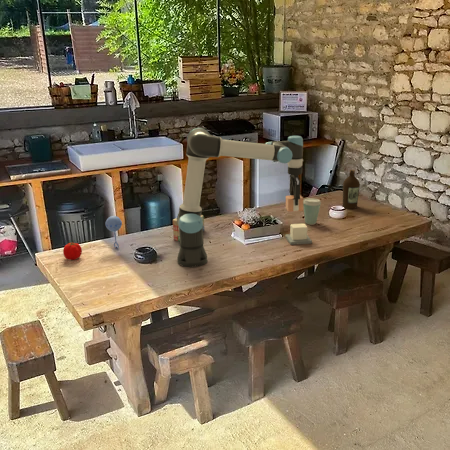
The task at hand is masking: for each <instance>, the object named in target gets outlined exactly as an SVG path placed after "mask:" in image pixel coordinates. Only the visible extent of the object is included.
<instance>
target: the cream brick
mask: <svg viewBox="0 0 450 450" xmlns="http://www.w3.org/2000/svg"><path fill="white" fill-rule="evenodd" d="M289 228H290V229H289V230H290V231H289V234H290V237H291V238H292V240H300V239H307V235H308V226H307V224H306V223H292V224H290V227H289Z"/></svg>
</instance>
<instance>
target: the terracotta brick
mask: <svg viewBox="0 0 450 450" xmlns="http://www.w3.org/2000/svg"><path fill="white" fill-rule="evenodd" d="M293 198H294V195H291V196H290V195H285V210H286V211H287V212H290V213H291V212H294V211H293ZM303 201H304V196H302V194H300V199H299V211H298V212H304V204H303Z"/></svg>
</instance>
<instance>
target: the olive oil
mask: <svg viewBox="0 0 450 450" xmlns="http://www.w3.org/2000/svg"><path fill="white" fill-rule="evenodd" d="M355 172H356V171H355V169H349V175H348V176H347V177H346V179H345V180H343V183H342V208H343V207H345V208H344V209H347V210H354V209H357V208H358V200H359V193H360V187H361V186H360V185H361V184H360V181H359V179H358V178H357V177H356V176H355V174H356V173H355Z"/></svg>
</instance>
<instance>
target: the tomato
mask: <svg viewBox="0 0 450 450" xmlns="http://www.w3.org/2000/svg"><path fill="white" fill-rule="evenodd" d="M62 250H63V251H62V252H63V256H64V258H65V259H67V260H70V261H72V260H74V261H75V260H77V259H79V258H80V257H81V256H82V254H83V249H82V246H81V245H80V244H79V243H76V242H68V243H67V244H65V246H64V247H63V249H62Z"/></svg>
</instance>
